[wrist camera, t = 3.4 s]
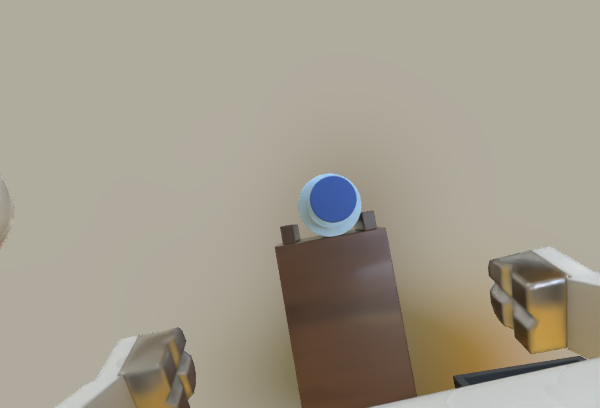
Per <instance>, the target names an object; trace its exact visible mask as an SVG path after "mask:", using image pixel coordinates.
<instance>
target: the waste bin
mask: <svg viewBox="0 0 600 408" xmlns="http://www.w3.org/2000/svg"><path fill="white" fill-rule="evenodd" d="M585 360H587V359H584V358H583V357H581V356H577V357H570V358H564V359H557V360H551V361H545V362H538V363H532V364H526V365H519V366H513V367H506V368H500V369H494V370H487V371H481V372H475V373H469V374H462V375H456V376H453V379H454V384H455V389H456V388H461V387H465V386H470V385H474V384H479V383H484V382H488V381H493V380H497V379H502V378H506V377H511V376H516V375H520V374H525V373H529V372H534V371H539V370H543V369H548V368H552V367H557V366H562V365H566V364H571V363H575V362H580V361H585Z"/></svg>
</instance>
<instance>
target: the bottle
mask: <svg viewBox="0 0 600 408" xmlns="http://www.w3.org/2000/svg"><path fill="white" fill-rule="evenodd" d="M298 210H299V214H300V217H301V219H302V221H303V223H304V224H305V225H306V227H307V228H309V229H310V230H311V231H312V232H314V233H316V234H318V235H321V236H325V237H334V236H339V235H342V234H344V233H346V232H347V231H349V230H350V229H351V228H352V227H353V226H354V225H355V224H356V222H357V221H358V218H359V216H360V213H361V198H360V195H359V192H358V190H357V188H356V187H355V186H354V184H353V183H352V182H351V181H349V180H348V179H346V178H345V177H343V176H340V175H336V174H323V175H319V176H317V177H315V178H313V179H312V180H310V181H309V182H308V183H307V184H306V185H305V186H304V188H303V189H302V191H301V193H300V196H299V200H298Z"/></svg>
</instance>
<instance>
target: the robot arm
mask: <svg viewBox="0 0 600 408" xmlns="http://www.w3.org/2000/svg"><path fill="white" fill-rule="evenodd" d="M13 218H14V205H13V199H12V195H11V193H10V189H9V188H8V186H7V183H6V182H5V180H4V179H3V177H2V176H1V174H0V248H1V247H2V246H3V244H4V243H5V240H6V239H7V237H8V235H9V233H10V230H11V227H12V223H13ZM488 270H489V276H490V277H491V278H492V279H493V280H494V281H495V283H494V285H493V287H492V288H491V290H490V297H491V304H492V306H493V309H494V312H495V314H496V316H497V317H498V319H499V321H500V322H501V323H502V324H503V325H504V326H505V327H508V328H511V329H514V332H515V338H516V339H517V340H518V341H519V342H520V343H521V344H522V345H523V346H524V347H525V348H526V349H527V350H528V351H529V352H530V353H531V354H536V353H541V352H546V351H551V350H557V349H562V348H567V347H568V350H571V351H573V352H575V353H577V354H580V355H581V356H584V357H586V358H588V359H589V360H585V361H580V362H575V363H571V364H566V365H562V366H557V367H552V368H548V369H543V370H539V371H534V372H529V373H525V374H520V375H516V376H511V377H506V378H502V379H497V380H493V381H488V382H484V383H479V384H474V385H470V386H465V387H461V388H456V389H452V390H447V391H442V392H438V393H433V394H429V395H424V396H419V397H415V398H410V399H405V400H401V401H396V402H392V403H387V404H382V405H378V406H373V407H369V408H600V272H594V271H592V270H590V269H588V268H586V267H585V266H583V265H582V264H580V263H578V262H577V261H575V260H573V259H571V258H570V257H568V256H566V255H565V254H563V253H561V252H560V251H558V250H556V249H555V248H553V247H548V246H546V247H542V248H538V249H534V250H530V251H526V252H522V253H518V254H514V255H509V256H505V257H501V258H497V259H493V260H490V261H489V266H488ZM185 344H186V339H185V337H184V334H183V331H182V330H181V329H180V328H173V329H167V330H162V331H157V332H152V333H147V334H142V335H136V336H132V337H128V338H124V339H121V340H119V341H118V342H117V344H116V346H115V347H114V349H113V351H112V352H111V354H110V356H109V358H108V359H107V361H106V363H105V364H104V366H103V368H102V369H101V371H100V373H99V374H98V376H97V378H96V379H95V381H93V382H88V383H87V384H85V385H84V386H83V387H81V388H80V389H79V390H77V391H76V392H75V393H73V394H72V395H71V396H69V397H68V398H67V399H65V400H64V401H62V402H61V403H60V404H58V405H57V406H56V407H54V408H190V406H189V403H188V399H189V398H190V397H191V396H192V395H193V394H194V389H195V384H196V373H195V367H194V363H193V360H192V357H191V355H189V354H188V353H187V352H185V351H184V347H185Z"/></svg>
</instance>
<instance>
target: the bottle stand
mask: <svg viewBox="0 0 600 408" xmlns="http://www.w3.org/2000/svg"><path fill="white" fill-rule="evenodd" d="M354 228H355V229H356V230H350V231H347V232H346V233H344V234H342V235H339V236H334V237H325V236H316V237H309V238H304V239H300V234H299V229H298V225H287V226H281V227H280V229H281V234H282V241H283V243H281V244H279V245H277V246H276V247H275V251H276V257H277V263H278V269H279V274H280V280H281V286H282V292H283V299H284V304H285V310H286V316H287V322H288V328H289V333H290V340H291V346H292V352H293V358H294V363H295V370H296V375H297V381H298V387H299V393H300V399H301V405H302V408H369V407H373V406H378V405H382V404H387V403H392V402H396V401H401V400H405V399H410V398H415V397H417V394H416V389H415V383H414V379H413V372H412V368H411V362H410V356H409V351H408V346H407V340H406V335H405V329H404V324H403V318H402V313H401V308H400V302H399V297H398V291H397V286H396V281H395V276H394V270H393V264H392V259H391V254H390V248H389V243H388V238H387V232H386V228H382V227H376V221H375V216H374V211H367V212H362V213H360V216H359V218H358V221H357V222H356V224H355V225H354Z"/></svg>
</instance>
